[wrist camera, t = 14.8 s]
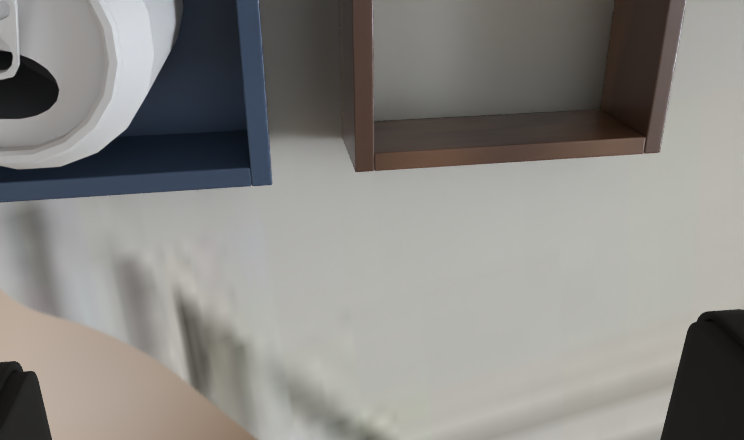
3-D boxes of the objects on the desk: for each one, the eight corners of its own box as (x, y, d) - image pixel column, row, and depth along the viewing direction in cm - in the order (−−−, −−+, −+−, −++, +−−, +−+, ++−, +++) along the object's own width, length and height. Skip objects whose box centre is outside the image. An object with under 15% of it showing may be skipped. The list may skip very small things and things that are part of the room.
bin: (244, -198, 26) (243, -221, 22) (268, 141, 32) (272, 185, 27) (-145, -203, 25) (-244, -230, 20) (-45, 159, 30) (-103, 209, 25)
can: (-5, 76, 29) (-160, 180, 18) (-20, -124, 26) (-215, -144, 15) (182, 94, 30) (143, 201, 19) (189, -93, 27) (148, -89, 16)
